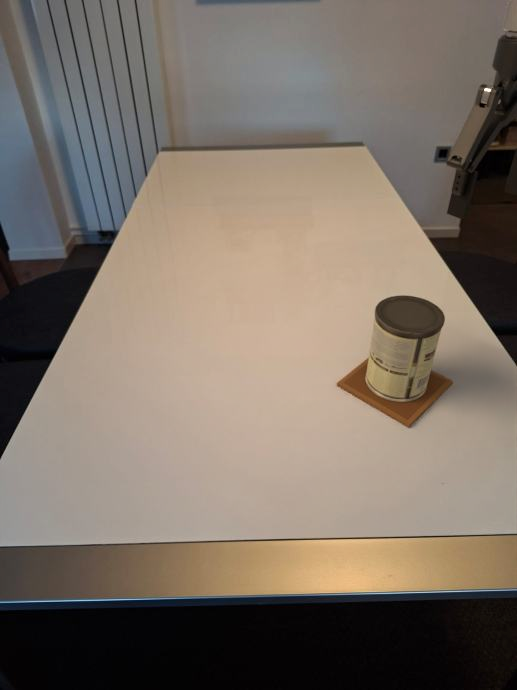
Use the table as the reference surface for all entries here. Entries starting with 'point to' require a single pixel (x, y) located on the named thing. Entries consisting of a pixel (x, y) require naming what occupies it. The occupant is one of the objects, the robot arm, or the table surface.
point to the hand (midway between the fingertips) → (485, 204)
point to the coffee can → (403, 347)
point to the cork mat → (396, 410)
